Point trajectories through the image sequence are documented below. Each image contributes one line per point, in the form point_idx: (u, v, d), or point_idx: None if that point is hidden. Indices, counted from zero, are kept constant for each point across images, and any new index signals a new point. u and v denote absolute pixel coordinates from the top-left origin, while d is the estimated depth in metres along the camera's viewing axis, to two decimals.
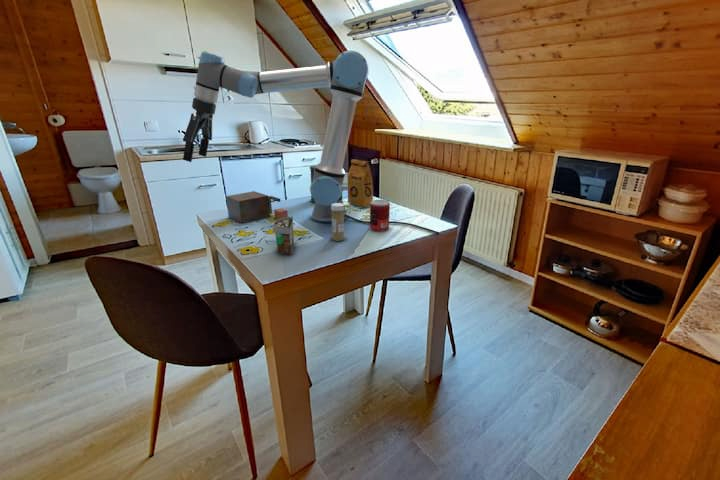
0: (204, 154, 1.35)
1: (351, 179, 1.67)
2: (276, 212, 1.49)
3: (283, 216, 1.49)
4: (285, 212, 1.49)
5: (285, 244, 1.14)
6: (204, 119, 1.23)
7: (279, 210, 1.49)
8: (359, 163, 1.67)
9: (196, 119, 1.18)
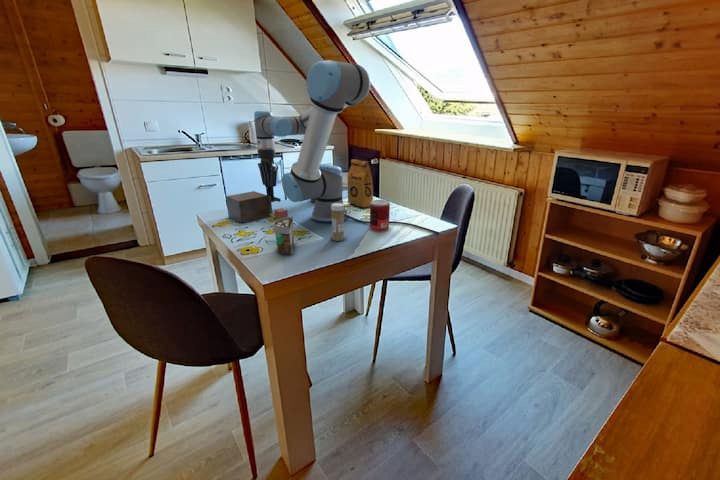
0: None
1: (351, 179, 1.67)
2: (276, 212, 1.49)
3: (283, 216, 1.49)
4: (285, 212, 1.49)
5: (285, 244, 1.14)
6: None
7: (279, 210, 1.49)
8: (359, 163, 1.67)
9: (276, 170, 1.51)
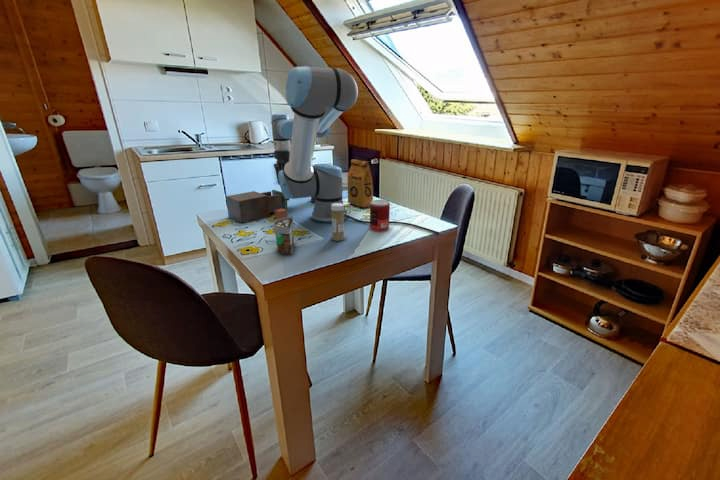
0: (287, 198, 1.66)
1: (351, 179, 1.67)
2: (276, 212, 1.49)
3: (283, 216, 1.49)
4: (285, 212, 1.49)
5: (285, 244, 1.14)
6: None
7: (279, 210, 1.49)
8: (359, 163, 1.67)
9: None
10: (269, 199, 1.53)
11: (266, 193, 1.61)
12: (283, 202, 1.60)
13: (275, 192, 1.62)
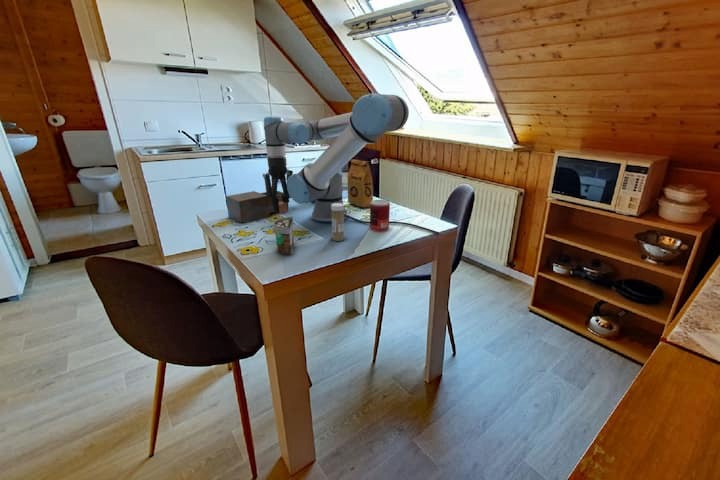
0: None
1: (351, 179, 1.67)
2: None
3: (283, 209, 1.48)
4: (285, 205, 1.48)
5: (285, 244, 1.14)
6: (276, 172, 1.41)
7: (279, 203, 1.48)
8: (359, 163, 1.67)
9: (266, 178, 1.39)
10: (269, 199, 1.53)
11: (266, 193, 1.61)
12: None
13: None
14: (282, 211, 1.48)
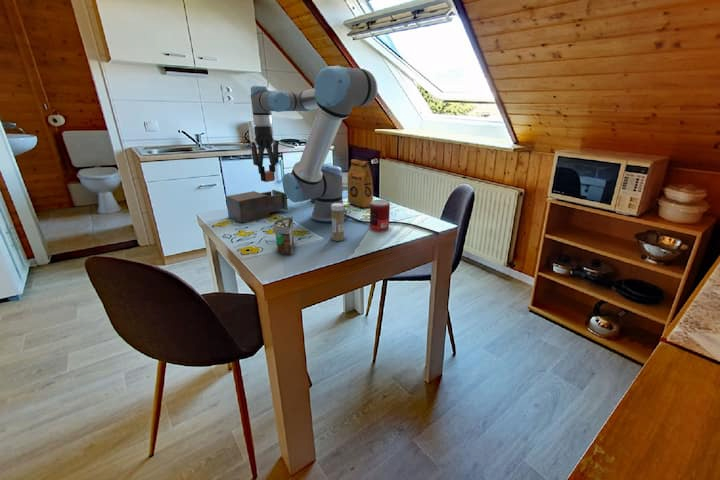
0: None
1: (351, 179, 1.67)
2: None
3: (269, 177, 1.54)
4: (271, 174, 1.54)
5: (285, 244, 1.14)
6: (262, 141, 1.47)
7: (265, 172, 1.54)
8: (359, 163, 1.67)
9: (253, 146, 1.45)
10: (269, 199, 1.53)
11: (266, 193, 1.61)
12: (283, 202, 1.60)
13: (275, 192, 1.62)
14: (268, 179, 1.54)
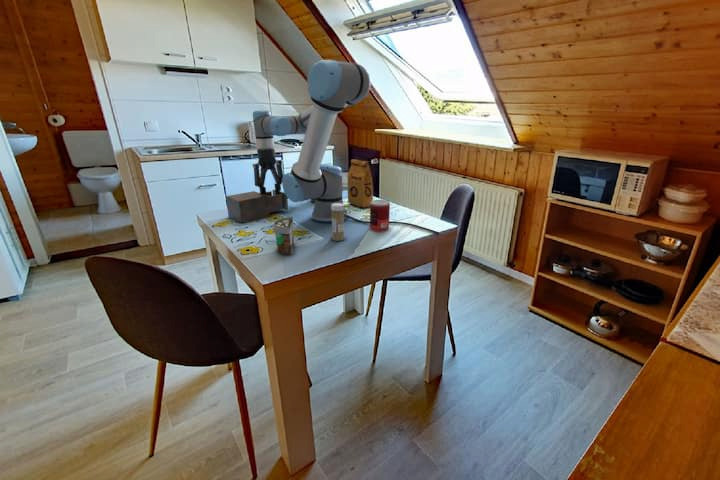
0: None
1: (351, 179, 1.67)
2: None
3: None
4: None
5: (285, 244, 1.14)
6: (265, 163, 1.51)
7: None
8: (359, 163, 1.67)
9: (255, 168, 1.49)
10: (270, 199, 1.54)
11: (267, 193, 1.61)
12: (284, 202, 1.60)
13: None
14: None
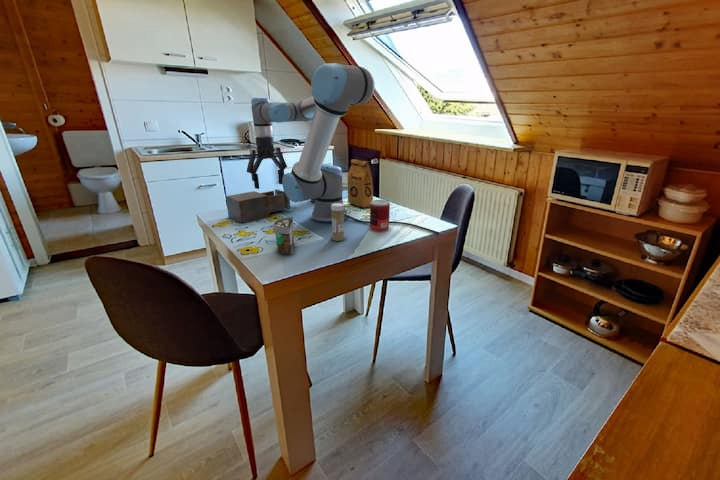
0: (281, 182, 1.59)
1: (351, 179, 1.67)
2: None
3: None
4: None
5: (285, 244, 1.14)
6: (263, 151, 1.49)
7: None
8: (359, 163, 1.67)
9: (252, 153, 1.46)
10: (272, 198, 1.54)
11: (269, 192, 1.62)
12: (286, 201, 1.61)
13: (278, 191, 1.63)
14: None
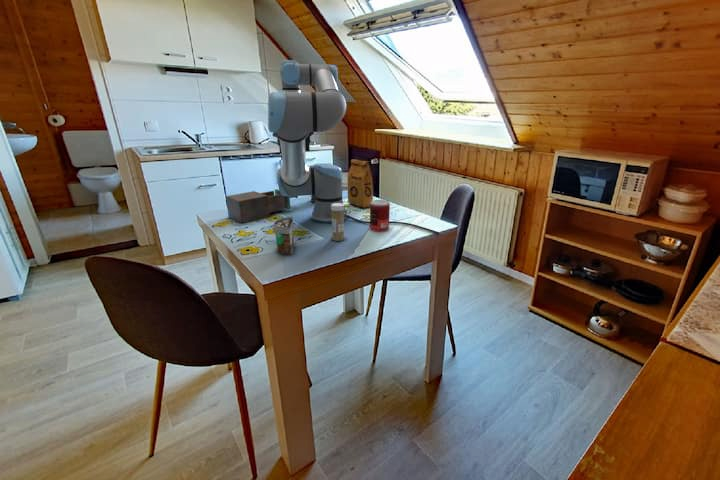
0: (307, 149, 1.58)
1: (351, 179, 1.67)
2: None
3: None
4: None
5: (285, 244, 1.14)
6: None
7: None
8: (359, 163, 1.67)
9: None
10: (272, 198, 1.54)
11: (269, 192, 1.62)
12: (286, 201, 1.61)
13: (278, 191, 1.63)
14: None
